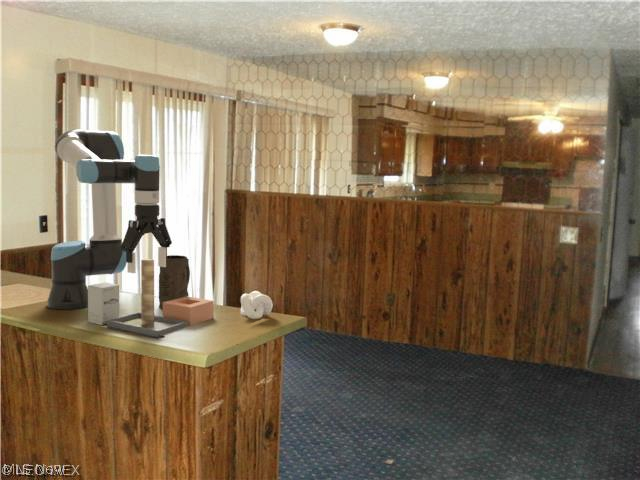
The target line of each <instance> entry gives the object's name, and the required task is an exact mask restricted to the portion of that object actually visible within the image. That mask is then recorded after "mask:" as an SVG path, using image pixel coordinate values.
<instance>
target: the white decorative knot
mask: <svg viewBox="0 0 640 480" xmlns="http://www.w3.org/2000/svg"><path fill="white" fill-rule="evenodd" d="M240 304H241V305H240V306H241V307H240V315H241V316H245V317H248V318H249V319H252V320H256V319H261V318H262V317H263V316H268V315H269V314H270V313H271V311H272V310H273V308H274V307H273V306H274V305H273V300H272V299H271V297H270V296H268V295H267V294H263V293H261V292H260V291H259V290H254V291H251V292H250V293H243V294H242V295H241V296H240Z"/></svg>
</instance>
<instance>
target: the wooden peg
mask: <svg viewBox="0 0 640 480" xmlns="http://www.w3.org/2000/svg"><path fill="white" fill-rule="evenodd" d="M140 261H141V262H140V263H141V264H140V269H141V271H140V272H141V273H140V274H141V275H140V277H141V280H140V281H141V287H140V289H141V292H140V293H141V296H140V297H141V299H140V300H141V311H140V312H141V314H142V318H141V327H146V328H151V327H154V326H155V320H154V315H155V259H152V258H143V259H141V260H140Z"/></svg>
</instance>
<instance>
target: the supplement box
mask: <svg viewBox="0 0 640 480" xmlns="http://www.w3.org/2000/svg"><path fill="white" fill-rule="evenodd" d="M87 289H88V306H87V312H88V313H87V319H88V320H87V322H89V323H93V324H96V325H100V326H103V325H107V320H110V319H114V318H118V317H120V284H116V283H110V282H100V283H96V284H89V285H87ZM105 322H106V323H105Z"/></svg>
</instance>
